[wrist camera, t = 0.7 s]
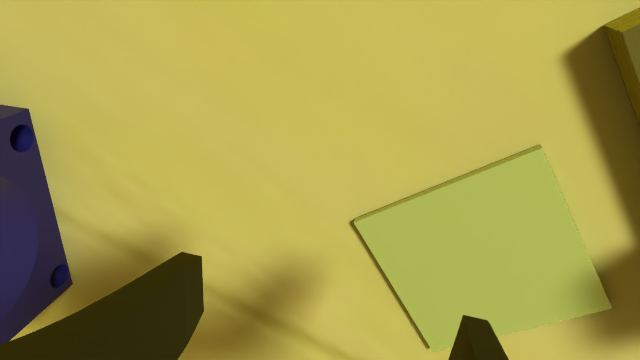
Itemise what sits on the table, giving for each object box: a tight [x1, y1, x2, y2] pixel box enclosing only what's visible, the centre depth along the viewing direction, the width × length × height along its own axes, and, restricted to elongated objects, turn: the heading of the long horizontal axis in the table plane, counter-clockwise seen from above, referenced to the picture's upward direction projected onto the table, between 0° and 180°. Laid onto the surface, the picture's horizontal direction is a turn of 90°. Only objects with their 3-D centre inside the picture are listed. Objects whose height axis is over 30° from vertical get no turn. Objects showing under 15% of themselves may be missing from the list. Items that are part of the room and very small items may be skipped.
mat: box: [354, 145, 612, 352], centre depth 22 cm, size 9×9×1 cm
